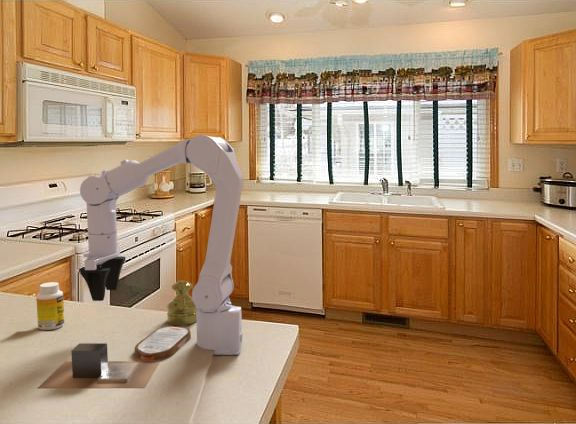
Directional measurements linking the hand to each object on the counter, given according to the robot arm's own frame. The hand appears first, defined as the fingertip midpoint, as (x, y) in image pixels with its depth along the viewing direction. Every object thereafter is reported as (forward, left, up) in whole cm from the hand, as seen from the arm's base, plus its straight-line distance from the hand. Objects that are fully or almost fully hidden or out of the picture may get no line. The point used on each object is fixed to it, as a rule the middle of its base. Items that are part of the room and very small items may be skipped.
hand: (105, 294), depth 98 cm
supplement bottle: (+16, -8, -10) cm, 21 cm away
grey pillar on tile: (-6, +18, -9) cm, 21 cm away
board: (-6, +18, -10) cm, 22 cm away
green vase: (-14, -12, -10) cm, 21 cm away
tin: (-10, +4, -9) cm, 14 cm away
